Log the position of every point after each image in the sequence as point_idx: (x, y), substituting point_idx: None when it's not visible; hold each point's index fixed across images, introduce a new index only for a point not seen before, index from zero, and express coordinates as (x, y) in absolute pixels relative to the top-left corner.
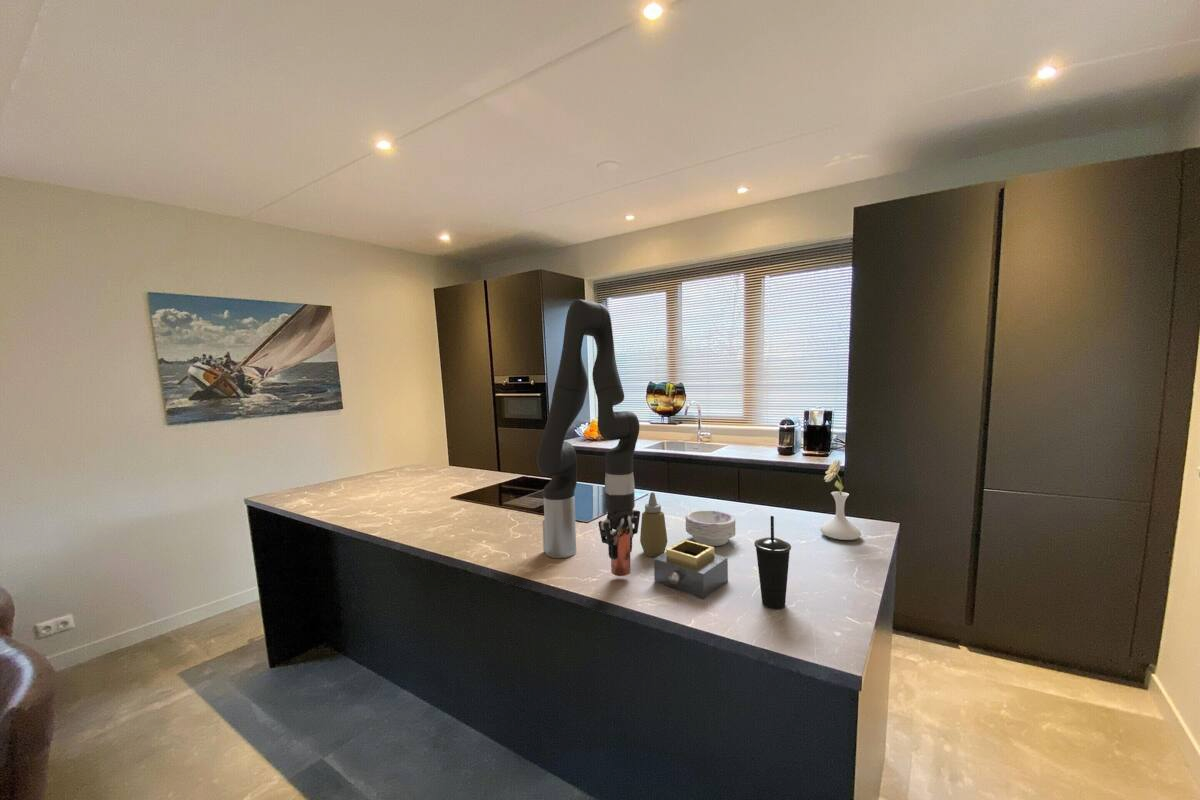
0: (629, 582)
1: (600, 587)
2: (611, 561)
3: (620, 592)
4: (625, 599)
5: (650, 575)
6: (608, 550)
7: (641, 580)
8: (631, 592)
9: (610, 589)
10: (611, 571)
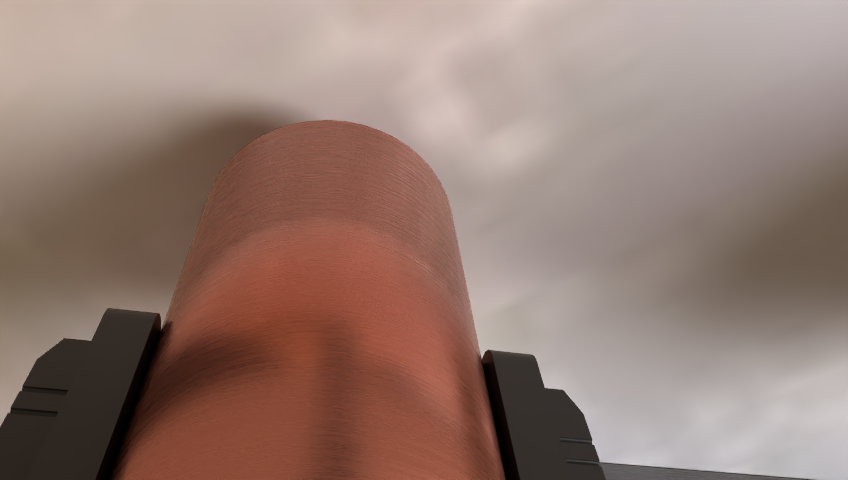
0: None
1: (25, 97)
2: (195, 248)
3: (91, 322)
4: None
5: (569, 371)
6: (7, 414)
7: None
8: None
9: (69, 214)
10: (229, 165)
